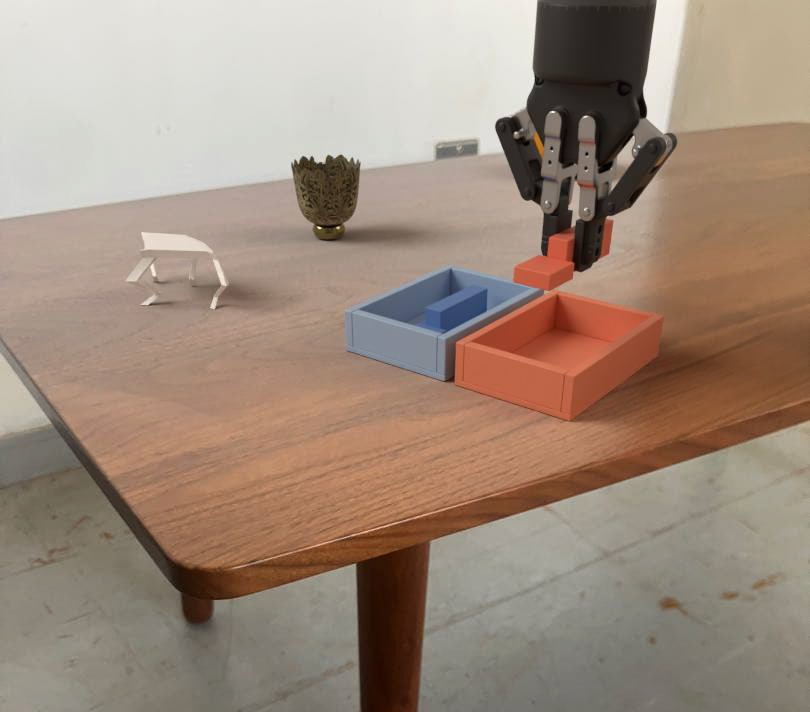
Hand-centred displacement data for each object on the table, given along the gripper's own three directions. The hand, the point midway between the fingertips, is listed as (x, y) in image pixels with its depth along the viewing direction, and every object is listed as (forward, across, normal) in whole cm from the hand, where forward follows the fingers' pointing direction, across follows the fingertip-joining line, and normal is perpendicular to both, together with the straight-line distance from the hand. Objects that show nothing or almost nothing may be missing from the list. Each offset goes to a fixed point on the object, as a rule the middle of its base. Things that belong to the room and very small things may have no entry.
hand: (568, 265), depth 68 cm
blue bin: (+8, +11, 0) cm, 14 cm away
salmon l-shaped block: (0, 0, 0) cm, 0 cm away
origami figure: (+9, +36, +7) cm, 38 cm away
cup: (+9, +38, -16) cm, 42 cm away
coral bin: (+8, 0, 0) cm, 8 cm away
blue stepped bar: (+8, +11, 0) cm, 13 cm away
